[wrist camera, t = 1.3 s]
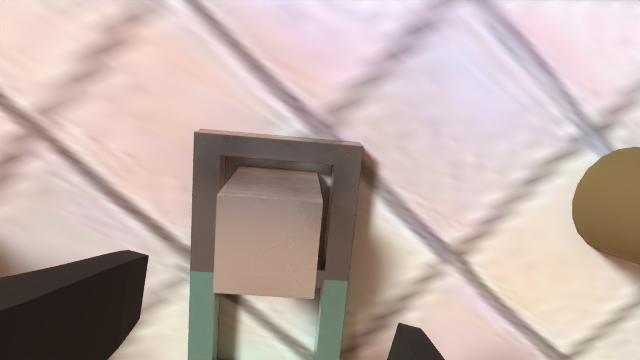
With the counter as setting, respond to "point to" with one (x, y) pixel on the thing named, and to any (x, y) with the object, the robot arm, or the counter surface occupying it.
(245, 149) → the grey teal tray
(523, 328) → the counter surface
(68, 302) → the robot arm
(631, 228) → the cork
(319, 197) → the beige rectangular block
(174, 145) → the counter surface
